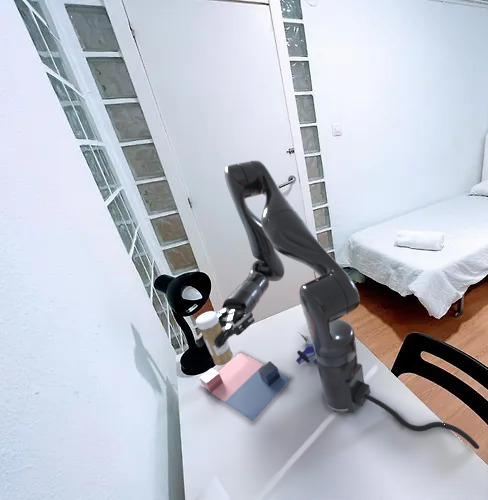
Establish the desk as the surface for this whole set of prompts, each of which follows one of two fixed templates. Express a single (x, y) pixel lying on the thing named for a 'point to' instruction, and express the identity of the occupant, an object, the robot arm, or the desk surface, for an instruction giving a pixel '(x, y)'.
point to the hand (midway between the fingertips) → (207, 344)
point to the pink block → (211, 380)
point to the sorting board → (246, 386)
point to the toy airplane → (306, 351)
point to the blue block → (269, 373)
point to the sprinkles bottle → (213, 337)
